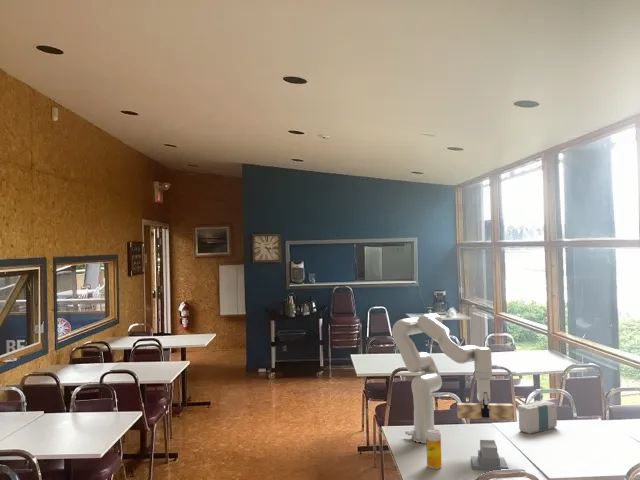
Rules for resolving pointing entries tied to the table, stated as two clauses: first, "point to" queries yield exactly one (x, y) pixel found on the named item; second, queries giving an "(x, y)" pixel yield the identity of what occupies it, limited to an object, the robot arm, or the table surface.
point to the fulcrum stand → (488, 457)
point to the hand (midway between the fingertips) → (484, 415)
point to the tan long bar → (476, 412)
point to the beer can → (433, 448)
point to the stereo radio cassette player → (537, 416)
